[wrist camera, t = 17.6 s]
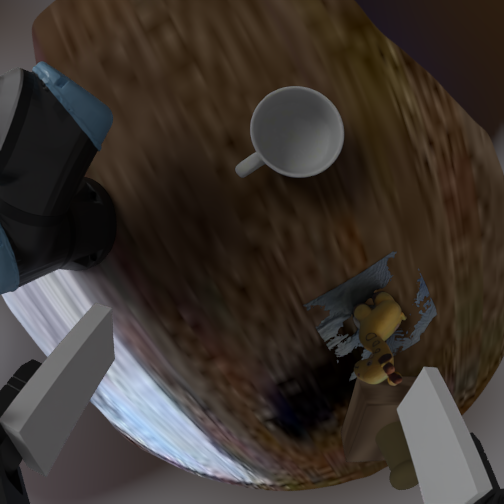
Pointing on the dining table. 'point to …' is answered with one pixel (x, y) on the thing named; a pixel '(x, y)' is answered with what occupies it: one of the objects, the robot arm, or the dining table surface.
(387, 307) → the stuffed giraffe
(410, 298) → the dining table surface
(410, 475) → the cork
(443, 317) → the dining table surface
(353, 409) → the walnut block
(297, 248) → the dining table surface
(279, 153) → the teacup
